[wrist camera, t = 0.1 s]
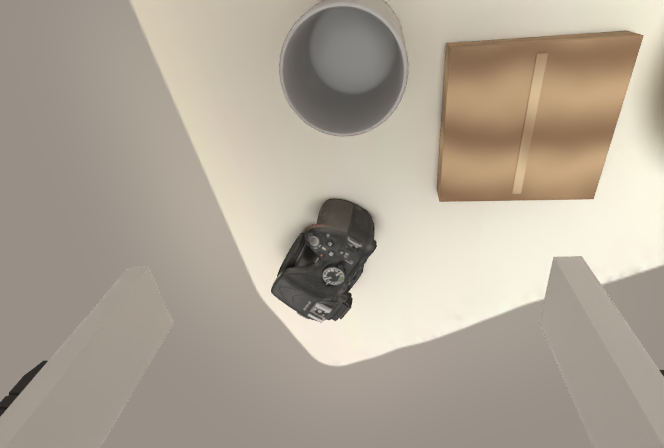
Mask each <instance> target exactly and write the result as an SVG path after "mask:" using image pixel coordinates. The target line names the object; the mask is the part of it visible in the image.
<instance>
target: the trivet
mask: <svg viewBox="0 0 664 448" xmlns="http://www.w3.org/2000/svg"><path fill="white" fill-rule="evenodd" d="M643 36H644V35H641V34H637V33H633V32H629V31H616V32H602V33H588V34H573V35H559V36H545V37H530V38H516V39H502V40H487V41H473V42H459V43H446V59H445V74H444V89H443V104H442V120H441V135H440V150H439V165H438V181H437V192H438V197H439V201H440V202H449V201H509V200H570V199H594V196H595V192H596V189H597V186H598V183H599V179H600V176H601V173H602V170H603V166H604V163H605V160H606V157H607V153H608V150H609V147H610V143H611V140H612V137H613V134H614V130H615V127H616V124H617V121H618V117H619V114H620V111H621V107H622V104H623V101H624V98H625V94H626V91H627V88H628V85H629V81H630V78H631V75H632V72H633V68H634V65H635V62H636V58H637V55H638V52H639V49H640V45H641V42H642V39H643Z"/></svg>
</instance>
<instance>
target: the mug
mask: <svg viewBox="0 0 664 448" xmlns="http://www.w3.org/2000/svg"><path fill="white" fill-rule="evenodd" d="M279 73H280V81H281V85H282V89H283V92H284V94H285V97H286V99H287V101H288V103H289V105H290V106H291V108H292V109H293V110H294V112H295V113H296V114H297V115H298V116H299V117H300V118H301V119H302V120H303V121H304V122H305V123H306V124H308V125H309V126H311V127H312V128H314V129H316V130H318V131H321V132H323V133H326V134H330V135H334V136H353V135H358V134H362V133H365V132H367V131H370V130H372V129H374V128H375V127H377V126H379V125H380V124H381V123H383V122H384V121H385V120H386V119H387V118H388V117H389V116H390V115H391V114H392V113H393V112H394V110H395V109H396V108H397V106H398V104H399V103H400V101H401V99H402V96H403V94H404V91H405V88H406V84H407V78H408V58H407V52H406V48H405V44H404V40H403V33H402V29H401V25H400V23H399V20H398V18H397V16H396V14H395V13H394V12H393V10H392V9H391V7H390V6H389V5H388V4H387V3H386V2H384V1H383V0H322V1H321V2H319V3H318V4H316V5H315V6H314V7H313V8H311V9H310V10H309V11H308V12H306V13H305V14H304V15H303V16H302V17H301V18H300V19H299V20H298V21H297V22H296V23H295V24H294V26H293V27H292V28H291V30H290V31H289V33H288V35H287V37H286V39H285V42H284V44H283V47H282V51H281V55H280V63H279Z"/></svg>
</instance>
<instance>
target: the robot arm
mask: <svg viewBox="0 0 664 448" xmlns="http://www.w3.org/2000/svg"><path fill="white" fill-rule="evenodd" d="M173 324H174V322H173V320H172V317H171V315H170V313H169V311H168V309H167V306H166V304H165V302H164V300H163V298H162V296H161V293H160V291H159V289H158V287H157V284H156V282H155V280H154V278H153V276H152V274H151V272H150V269H149V267H129V268H127V270H126V271H125V272H124V273H123V274H122V276H121V277H120V278H119V279H118V280H117V281H116V282H115V284H114V285H113V286H112V287H111V288H110V289H109V291H108V292H107V293H106V294H105V295H104V297H103V298H102V299H101V300H100V301H99V302H98V304H97V305H96V306H95V307H94V308H93V309H92V310H91V312H90V313H89V314H88V315H87V316H86V318H85V319H84V320H83V321H82V322H81V323H80V325H79V326H78V327H77V328H76V329H75V330H74V332H73V333H72V334H71V335H70V336H69V337H68V339H67V340H66V341H65V342H64V343H63V344H62V345H61V347H60V348H59V349H58V350H57V351H56V353H55V354H54V355H53V356H52V357H51V358H50V359H49V361H43V362H41V363H40V364H39V365H37V366H36V367H35V368H34V369H32V370H31V371H30V372H28V373H27V374H26V375H24V376H23V377H22V379H21V380H20V381H19V382H18V383H17V384H16V385H15V387H14V388H13V389H12V390H11V391H10V392H9V396H6V397H5V398H4V399H3V400H2V401H1V402H0V448H100V447H101V446H102V444H103V442H104V440H105V439H106V437H107V436H108V434H109V432H110V431H111V429H112V427H113V425H114V424H115V422H116V420H117V419H118V417H119V415H120V414H121V412H122V410H123V409H124V407H125V405H126V404H127V402H128V400H129V398H130V397H131V395H132V393H133V392H134V390H135V388H136V387H137V385H138V383H139V382H140V380H141V378H142V377H143V375H144V373H145V372H146V370H147V368H148V367H149V365H150V363H151V361H152V360H153V358H154V356H155V355H156V353H157V351H158V350H159V348H160V346H161V344H162V343H163V341H164V340H165V338H166V336H167V335H168V332H169V331H170V329H171V328H172V326H173ZM539 324H540V326H541V329H542V331H543V333H544V336H545V338H546V340H547V343H548V345H549V347H550V349H551V352H552V354H553V356H554V359H555V361H556V363H557V366H558V368H559V370H560V373H561V375H562V377H563V380H564V382H565V384H566V386H567V389H568V391H569V393H570V396H571V398H572V400H573V402H574V405H575V407H576V409H577V412H578V414H579V416H580V419H581V421H582V423H583V426H584V428H585V430H586V433H587V435H588V437H589V440H590V442H591V444H592V447H593V448H664V370H659V369H658V368H657V366H656V365H655V363H654V362H653V360H652V359H651V357H650V356H649V354H648V353H647V351H646V350H645V349H644V347H643V346H642V344H641V343H640V341H639V340H638V338H637V337H636V335H635V334H634V332H633V331H632V329H631V328H630V327H629V325H628V324H627V322H626V321H625V319H624V318H623V316H622V315H621V313H620V312H619V310H618V309H617V307H616V306H615V304H614V303H613V302H612V300H611V299H610V297H609V296H608V294H607V293H606V291H605V290H604V288H603V287H602V285H601V284H600V282H599V281H598V280H597V278H596V277H595V275H594V274H593V272H592V271H591V269H590V268H589V266H588V265H587V263H586V262H585V260H584V259H583V258H582V256H575V257H554V258H553V262H552V267H551V271H550V276H549V280H548V285H547V290H546V294H545V299H544V303H543V308H542V312H541V317H540V322H539Z"/></svg>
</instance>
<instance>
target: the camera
mask: <svg viewBox="0 0 664 448" xmlns="http://www.w3.org/2000/svg"><path fill="white" fill-rule="evenodd" d="M376 247H377V245H376V241H375V240H374V222H373V220H372V218H371V216H370V215H369V213H368V212H367V211H366V210H364V209H362V208H361V207H359V206H357V205H355V204H353V203H351V202H348V201H344V200H339V199H330V200H328V201H326V202H325V203H324V204H323V206H322V208H321V210H320V212H319V216H318V220H317V224H315V225H312V226H310V227H309V228H308V229H307V231H306V234H304V233H301V234H300V235H299V236H298V238H297V239H296V241H295V242H294V244H293V245H292V247H291V249H290V250H289V252H288V254H287V256H286V258H285V259H284V261H283V263H282V265H281V267H280V270H279V272H278V275H277V278H276V280H275V282H274V284H273V286H272V289H271V293H272V294H273V295H274V296H275V297H277V298H278V299H279V300H281V301H282V302H283V303H285V304H286V305H288V306H289V307H290V308H292V309H294V310H295V311H297V314H299V315H300V316H302V317H304V318H307V319H312V320H315V321H318V322H320V323H322V322H323V321H324V320H326V319H327V320H331V319H333V320H334V321H336V320H338V318H340V319H342V318H343V317H344V315H345V314H346V313H347V312H348V311H349V309H350V308H351V305H352V298H351V296H352V295H351V293H348V292H349V290H350V289H351V288H352V286H353V285H354V284H355V283H356V281H357V280H358V279H359V277H360V276H361V274H362V272H363V267H364V264H365V262H366V261H367V259H368V257H369V256H370V255H371V254H372V253H373V252H374V250H375V249H376Z"/></svg>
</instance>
